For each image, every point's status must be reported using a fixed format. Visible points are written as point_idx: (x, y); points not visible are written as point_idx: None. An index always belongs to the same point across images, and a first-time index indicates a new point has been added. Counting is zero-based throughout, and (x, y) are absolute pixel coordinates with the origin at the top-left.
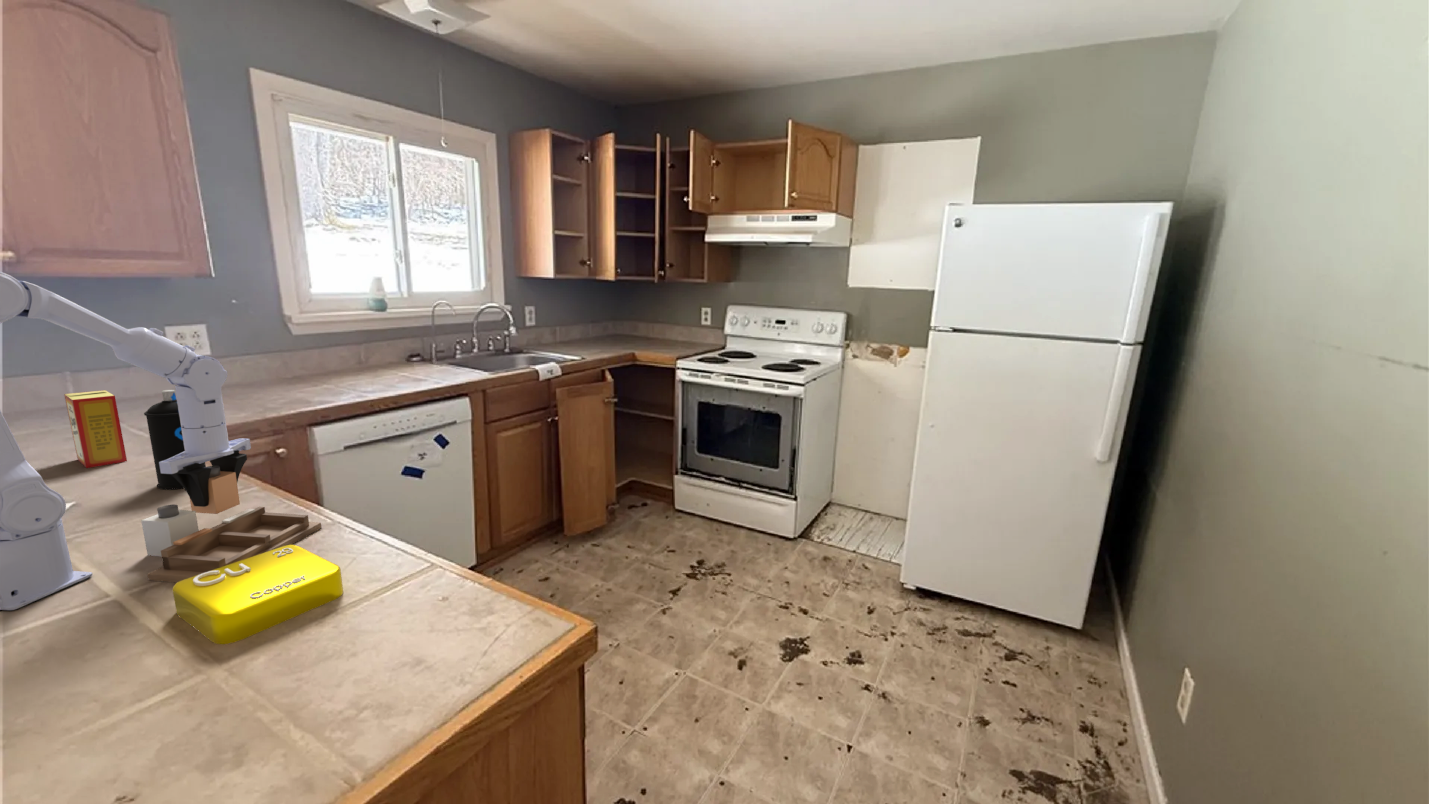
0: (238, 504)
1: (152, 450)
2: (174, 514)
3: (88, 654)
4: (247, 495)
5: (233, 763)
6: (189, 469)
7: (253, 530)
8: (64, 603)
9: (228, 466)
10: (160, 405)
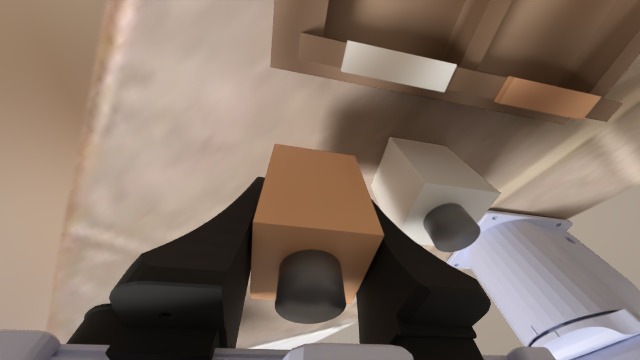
0: (279, 145)
1: None
2: (458, 207)
3: None
4: (121, 218)
5: None
6: (456, 338)
7: (361, 34)
8: (577, 182)
9: (240, 272)
10: None
